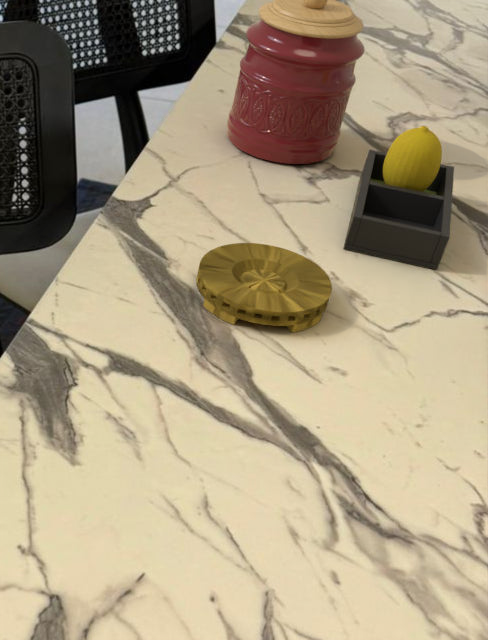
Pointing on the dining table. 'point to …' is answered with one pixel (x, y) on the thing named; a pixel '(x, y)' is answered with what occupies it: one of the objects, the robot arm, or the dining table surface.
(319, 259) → the dining table surface
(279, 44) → the kitchen canister
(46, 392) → the dining table surface
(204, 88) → the dining table surface
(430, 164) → the lemon
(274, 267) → the gold flat round disc
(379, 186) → the pad holder
